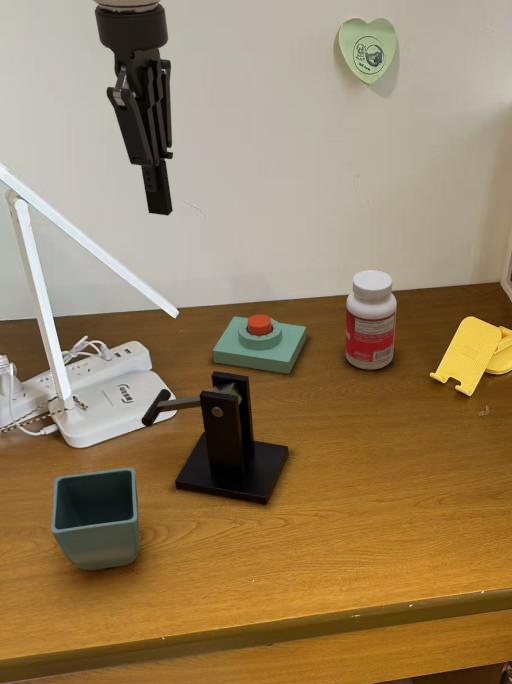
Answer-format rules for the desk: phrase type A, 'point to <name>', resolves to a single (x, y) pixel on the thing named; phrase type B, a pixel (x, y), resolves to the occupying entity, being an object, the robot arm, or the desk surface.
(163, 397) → the lever
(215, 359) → the button box
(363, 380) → the desk surface
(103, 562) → the flower pot
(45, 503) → the desk surface
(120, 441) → the desk surface
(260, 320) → the button
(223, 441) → the bracket
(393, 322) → the pill bottle
